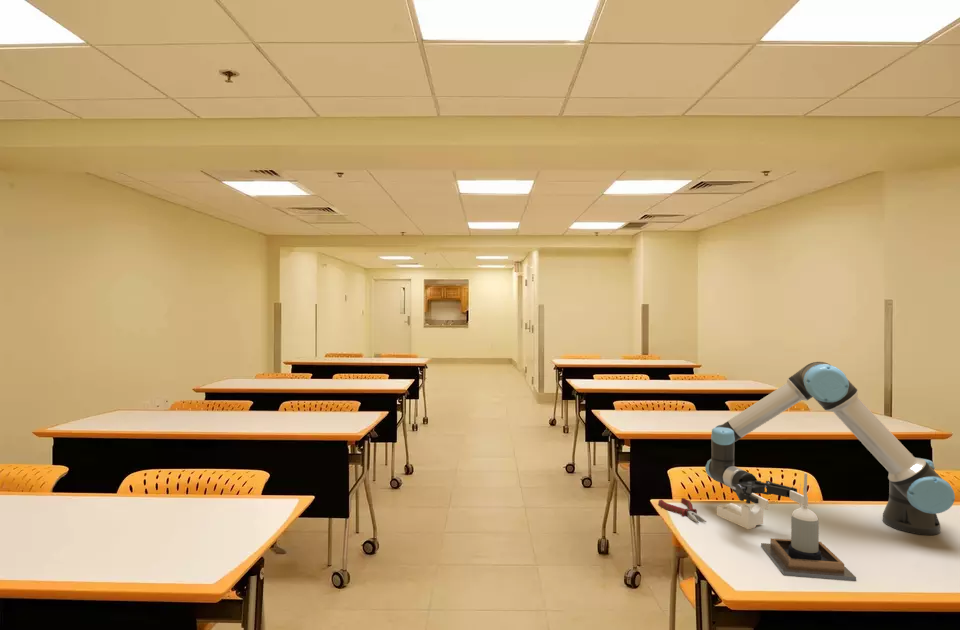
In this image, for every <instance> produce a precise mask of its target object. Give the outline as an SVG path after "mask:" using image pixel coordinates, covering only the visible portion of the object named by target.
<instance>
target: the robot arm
mask: <svg viewBox="0 0 960 630" xmlns="http://www.w3.org/2000/svg"><path fill="white" fill-rule="evenodd" d="M786 381H787V382H786V383H784V384H783V385H781V386H779V387H778V388H776V389H775V390H773V391H772V392H770V393H768V395H766V396H763V398H761V399H760V400H757V401H756V402H755V403H754V404H752V405H749V407H747V408H746V409H744V410H743V411H741V412H739V413H738V414H736V415H734V416H733V417H732V418H730V419H728V420H727V421H726V422H724V423H722V424H719V425H716V426H715V427H713V428H712V429H711V434H710V435H711V436H710V439H711V440H710V441H711V443H710V444H711V445H710V446H711V458H710V459H709V460H707V462H706V464H705V469H704V470H705V472H706V474H707V476H708V477H710V478H711V479H713V481H715V482H718V483H721V484H722V485H724V486H726V487H727V488H730V489H732V492H734V493H735V494H736V496H737V497H738V500H739V502H740V501H741V502H744V501H745V503H746V504H747V505H748V504H749V505H750V504H751V503H752V504H754V503H755V504H756V505H758V506H760V507H762V508H763V510H769V499H767V498H765V497H762V496H760V494H763V495H766V496H768V495H775V496H779V497H785V498H789V499H790V500H791V501H793V502H796V503H798V504H799V505H802V506H803V503H804V494H801V493H799V492H798V488H796V487H793V486H792V487H791V486H787V485H783V484H779V483H775V482H772V481H769V480H766V481H765V482H762V481H761V480H758V479H757V477H756V476H755V475H754V474H753V473H750V472H748V471H746V470H744V469H742V468H739V467H737V466H735V442H736V443H737V441H739V440H741V439H742V438H744V437H745V436H746V435H748V434H750V433H751V432H753V431H754V430H756V429H758V428H759V427H761V426H763V425H764V424H766V423H767V422H769V421H770V420H772V419H774V418H776V417H778V416H779V415H780V414H782V413H784V412H785V411H786V410H789V409H790V408H792V407H793V406H795V405H797V404H799V402H801V401H809V400H810V399H812V398H813V399H814V400H815V401H816V402H817V403H818V404H819V406H820V407H822V408H823V409H824V411H826V412H833V414H835V415H836V417H837V418H838V419H839V420H840V421H841V422H842V423H843V424H844V426H845V427H846V428H847V429H848V430H849V431H850V432H851V433H852V435H854V437H856V438H857V440H858V441H859V442H861V444H862V445H863V446H864V447H865V448H866V450H867V451H869V452H870V454H872V456H873V457H874V458H875V459H876V460H877V461H878V462H879V463H880V464H881V465H882V467H884V468H885V470H886V471H887V472H888V476H887V479H888V480H889V481H888V482H889V483H888V485H889V487H888V488H889V490H888V491H889V492H888V494H889V495H888V501H887V503H886V506H885V507H884V509H883V513H882V522H883V523H884V524H886V525H887V526H889V527H891V528H894V529H896V530H899V531H903V532H906V533H910V534H914V535H915V534H916V535H924V536H925V535H926V536H933V535H939V534H940V533H941V523H940V521H939V518H938V515H937V514H942V513H944V512H946V511H948V510H950V509H951V508H952V506H954V503H955V499H956V495H955V494H956V493H955V491H954V489H953V487H952V485H951V484H950V483H949V482H948V481H946V480H945V479H943V478H942V477H941V476H940V475H939V473H937V472H936V471H935V464H934V462H933V461H932V460H930V459H927V458H921V457H915V456H914V455H913V453H911V452H910V451H909V450H908V449H907V448H906V447H905V446H904V444H902V442H901V441H900V440H898V438H897V437H896V436H895V435H894V434H893V433H892V432H891V431H890V430H889V429H888V428H887V427H886V425H884V423H882V421H881V420H880V419H879V418H878V417H877V416H876V415H875V414H874V413H873V412H872V410H871V409H869V407H868V406H866V404H864V402H863V401H862V400H861V399H860V398H859V397H858V393H859V390H858V388H856V387H855V385H854V384H853V383H852V382H851V381H850V380H849V379H848V377H847V375H846V374H845V373H844V372H843V371H842V370H841V369H839V368H838V367H836V366H834V365H831V364H830V363H827V362H824V361H812V362H811V363H808V364H806V365H804V366H803V367H802V368H801V369H799V370H798V371H796V372H795V373H794V374H793V375H791V376H789V377H788V378H787V380H786ZM758 494H759V495H758ZM807 507H809V496H807Z"/></svg>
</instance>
